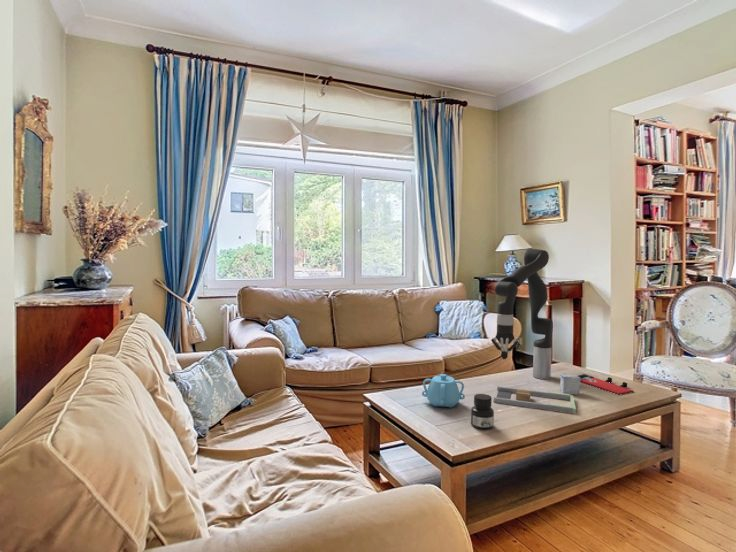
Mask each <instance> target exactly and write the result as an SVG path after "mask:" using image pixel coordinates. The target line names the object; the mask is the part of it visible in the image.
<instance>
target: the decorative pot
mask: <svg viewBox="0 0 736 552" xmlns="http://www.w3.org/2000/svg"><path fill="white" fill-rule="evenodd" d="M426 382H429V384H428V387H427V386H426ZM458 384H460V385H461V387H460V388H461V389H459V386H458ZM422 386H423V389H424V390H422V392H421V394H422V396H423V397H426V398H427V401H428V402H429V403H430V404H431V405H432V406H433V407H444V408H445V407H446V408H453V407H455V406H456V405H457V404H458V403H459V401H460V400H465V396H466V395H465V394H464V393H463V392H464V389H465V384H464V383H463V381H461V380H457V379H455V378H454V377H453V376H449V375H448V374H445V373H441V374H439V375H435V376H433V377H432V378H425V379H424V380H423V382H422Z"/></svg>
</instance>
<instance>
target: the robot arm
mask: <svg viewBox="0 0 736 552" xmlns="http://www.w3.org/2000/svg"><path fill="white" fill-rule="evenodd" d="M549 259H550V254H549V252H548V251H547V250H546V249H545V250H544V249H539V248H538V249H536V248H527V249H526V250H525V251H524V254H523V261H524V265H522V266H519V267H518V268H516V269H514V271H512V272H511V273H510V274H509V275H507V276H506V277H504V278H502V279H500V280H498V281H497V282H496V283H495V286H494V287H493V288H494V289H493V290H494V294H495V295H496V296H499V297H506V298H505V300H502V301H499V302H497V303H498V304H497V318H496V334H495V337H492V338H491V340H490V341H491V343H492V344H493V345H494V347H495V348H496V349H497V350H498V351H500V353H501V354H500V357H501V359H502V360H507V359H508V352H511V351H512V350H514V349H515V347H516V346H517V345H518V343H519V339H518V340H517V339H516V338H515V335H514V304H515V301H516V297H517V294H518V291H519V290H518V289H519V287H521V285H523V284H524V283H525V281H526V280H527V285H528V286H527V288H528V298H529V306H530V327H531V331H532V333H533V334H536V335H543V336H544V337H543V338H540V339H536V340H534V341H533V355H532V356H533V357H532V359H533V361H532V377H533V378H536V379H538V380H539V379H541V380H550V379H551V375H552V344H553V343H552V342H553V341H552V340H553V331H554V329H553V328H554V322H553V320H552V319H551V318H547V317H546V318H545V317H539V313H540V311H541V309H542V308H543V307H544V306H545V304H546V303H547V301H548V297H549V296H548V287H547V285H546V283H545V282H544V281H543V279H542V278H541V276H540V275H539V274H538V271H540V270H542V269H544V267H546V266H547V264H548V263H549ZM511 343H512V344H511ZM510 344H511V346H509V345H510Z"/></svg>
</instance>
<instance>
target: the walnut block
mask: <svg viewBox="0 0 736 552" xmlns="http://www.w3.org/2000/svg"><path fill="white" fill-rule="evenodd" d="M516 389H517V392H516V393H515V400H518V401H526V402H531V395H530V391H529V390H530V389H524V390H521V389H522V388H516Z"/></svg>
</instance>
